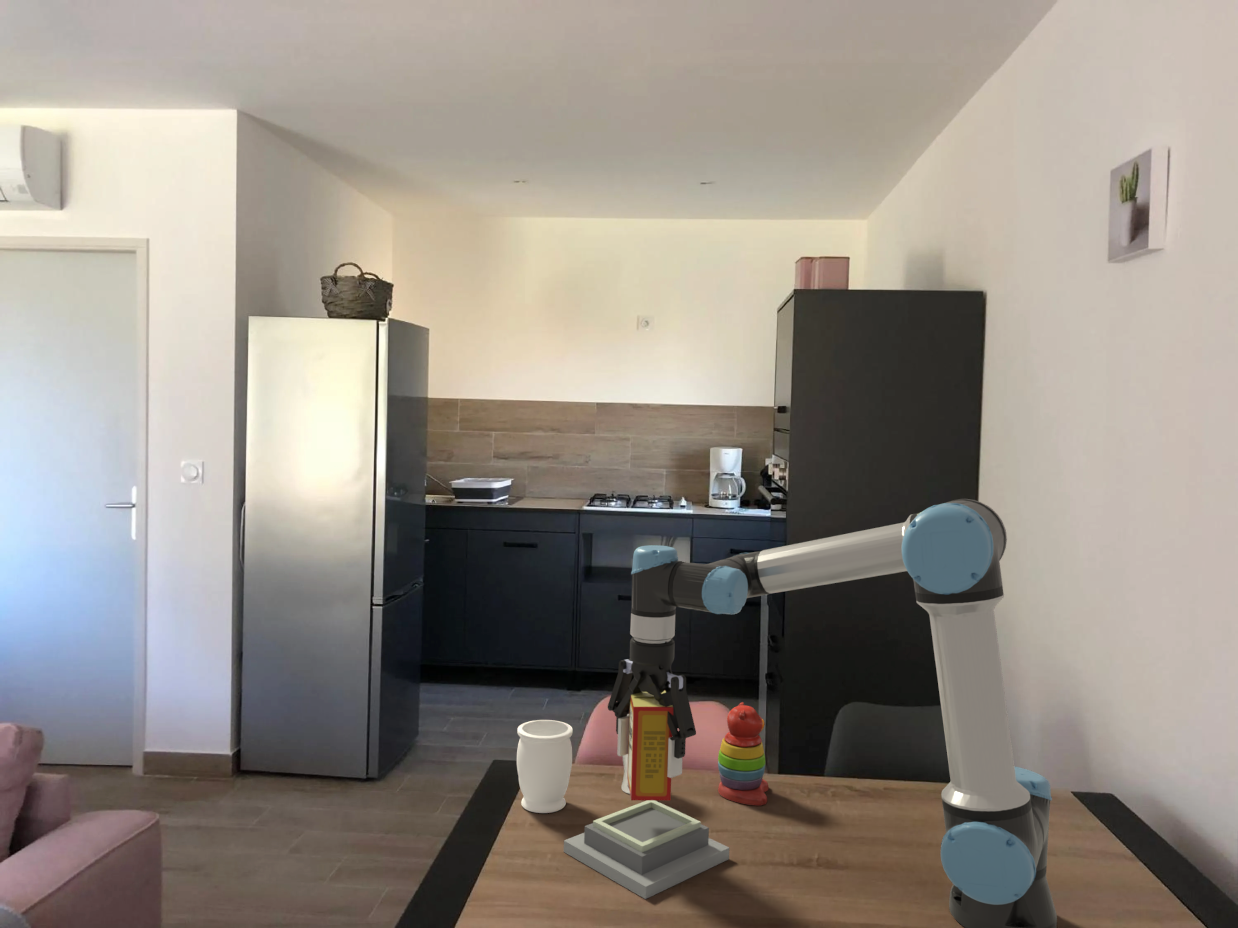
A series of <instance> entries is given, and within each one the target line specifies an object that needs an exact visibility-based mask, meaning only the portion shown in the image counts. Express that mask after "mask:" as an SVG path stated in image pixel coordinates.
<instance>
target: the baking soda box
mask: <svg viewBox="0 0 1238 928" xmlns="http://www.w3.org/2000/svg"><path fill="white" fill-rule="evenodd" d="M662 693H666V691H665V690H664V692H662ZM662 693H661V694H662ZM668 711H669V712H670V713H671V714H672V715H673V705H671V706H667V707H665V706H662V705H660V704H659V702H658V701H656V700H655V698H654V695H651V694H649V693H648V692H641V693H636V694H632V695H631V699H630V707H629V735H628V771H627V779H628V784H629V790H630V794H629V796H630V801H647V800H655V801H671V800H672V799H671V798H672V797H671V794H672V778H669V777H667V773H668V740H669V738H670V737H673V736H672V734H671V731H670V729H669V726H668V724H667V713H668Z"/></svg>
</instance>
